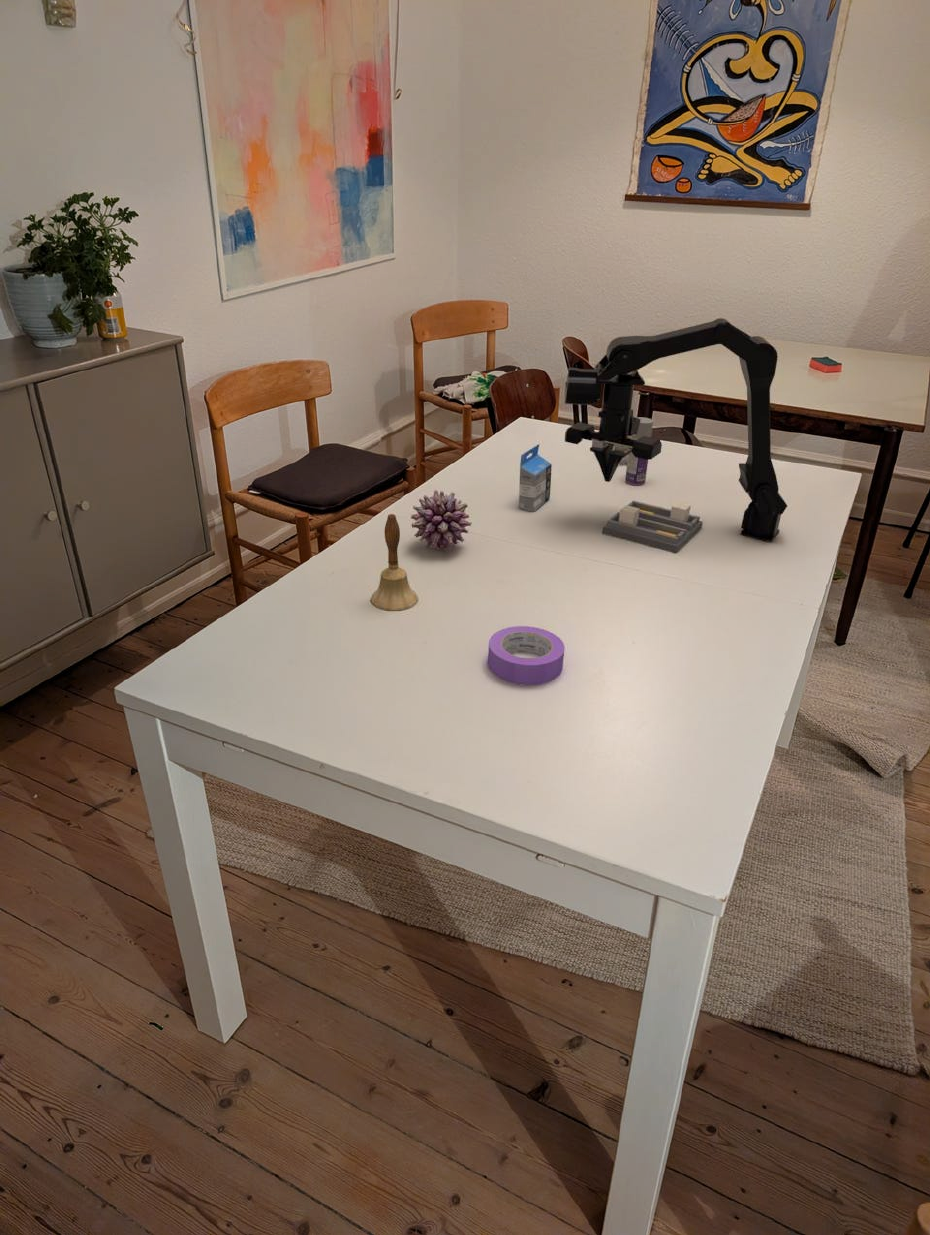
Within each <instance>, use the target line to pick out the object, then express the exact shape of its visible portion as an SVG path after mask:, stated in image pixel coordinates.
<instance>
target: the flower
mask: <svg viewBox="0 0 930 1235" xmlns="http://www.w3.org/2000/svg"><path fill="white" fill-rule="evenodd" d="M455 495H456V493H455V492H454V491H451V492H450V494H449V495H448V494H444V491H443V490H442V491H440V492H439V491H438V490H437V489H434V491H433V495H432V496H430V497H429V496H427V494H425V495H424V496H422V497H423V498H421V497H420V498H419V499H418V501H419V503H420V506H416V505H413V506H412V509H413V510H415V511H416V513H414V514H410V519H412V520H414V522H411V529H413V528H416V529H418V530H417V532H416V533H415V534H414V536H415V538H420V539H419V541H420V542H423V540H425V541H426V543H427V544H426V546H425V548H426V549H430V548H431V546H432V547H436V549H439V550H440V549H441V548H442V549H443V551H444V552H446V551H447V552H448V551H449V546H450V545H455V546H457V544H458V541H459V542H461V543H463V542H464V541H465V538H464V537H463V535H462V533H464V534H468V533H469V529H466V527H467V526H468V527H470V526H472V524H473V523H472V522H471V521H469V520H466V519H468V518H470V515H469V513H468V514H466V511H465V510H466V508H468V507H469V505H468V503H467V502H466V503H462V499H459V500H458V501H457V499H456V498H455Z"/></svg>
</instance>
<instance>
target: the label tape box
mask: <svg viewBox="0 0 930 1235" xmlns="http://www.w3.org/2000/svg"><path fill="white" fill-rule="evenodd" d="M539 447H540V443H538V444H536V445H535V446H533V447H532V448H530V449H528V450H527V451H525V452H523V453H522V454H521V456H520V464H519V491H518V492H519V493H518V494H519V496H518V497H519V498H518V510H523V511H527V512H535V511H536V510H538V509H539V508H540V507H541V506H543V505H544V504H545V503H546V502H548V501H549V500H551V499H550V498H551V483H552V468H553V467H552V466H553V464H552V463H551V462H549V461H548V460H546V459H545V458H544V457H542V456H540V455H539V454H538V453H539V449H540V448H539Z"/></svg>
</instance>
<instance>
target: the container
mask: <svg viewBox="0 0 930 1235" xmlns="http://www.w3.org/2000/svg"><path fill="white" fill-rule="evenodd" d="M637 418H638V419H641V421H640V424H639V428H638V432H637V434H633V435H632V436H631V438H630V439H634V440H638V439H639V438H641V437H642V436H647V437H652V435H653V434H652V433H653V426H654V425H653V424H654V420H653V419H652V418H648V417H640V416H639V417H637ZM648 464H649V460H646V459H642V458H637V457H635V456H634V455H633V454H632V452H631V453H630V454H628V461H627V464H626V470H625V471H626V472H625V479H624V482H625V484H627V485H629V486H635V487H640V486H644V485H645V484H646V478H647V472H648Z"/></svg>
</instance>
